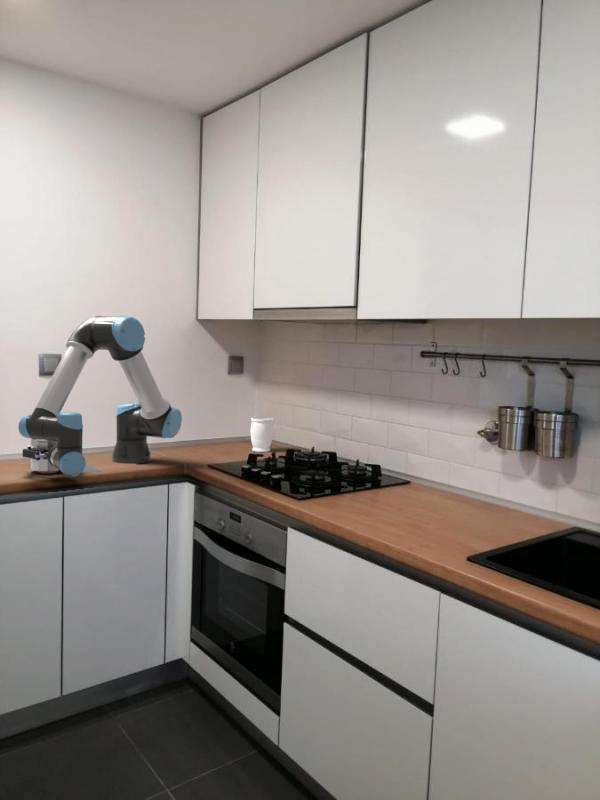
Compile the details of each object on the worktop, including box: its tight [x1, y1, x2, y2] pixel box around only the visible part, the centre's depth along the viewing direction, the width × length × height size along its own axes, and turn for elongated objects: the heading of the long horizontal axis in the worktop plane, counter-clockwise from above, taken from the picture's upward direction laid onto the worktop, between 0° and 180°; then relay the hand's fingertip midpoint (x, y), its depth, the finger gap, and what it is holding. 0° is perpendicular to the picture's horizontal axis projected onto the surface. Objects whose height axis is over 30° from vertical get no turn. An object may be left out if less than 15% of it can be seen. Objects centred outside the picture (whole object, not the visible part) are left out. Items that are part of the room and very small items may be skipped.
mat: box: [80, 464, 101, 474], centre depth 229 cm, size 11×14×1 cm
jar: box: [250, 416, 274, 453], centre depth 288 cm, size 11×10×15 cm
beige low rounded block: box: [38, 470, 59, 474], centre depth 223 cm, size 6×6×3 cm
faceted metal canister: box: [30, 439, 60, 472], centre depth 222 cm, size 11×11×13 cm
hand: (45, 448), depth 226 cm, fingers closed on faceted metal canister, 11 cm apart
